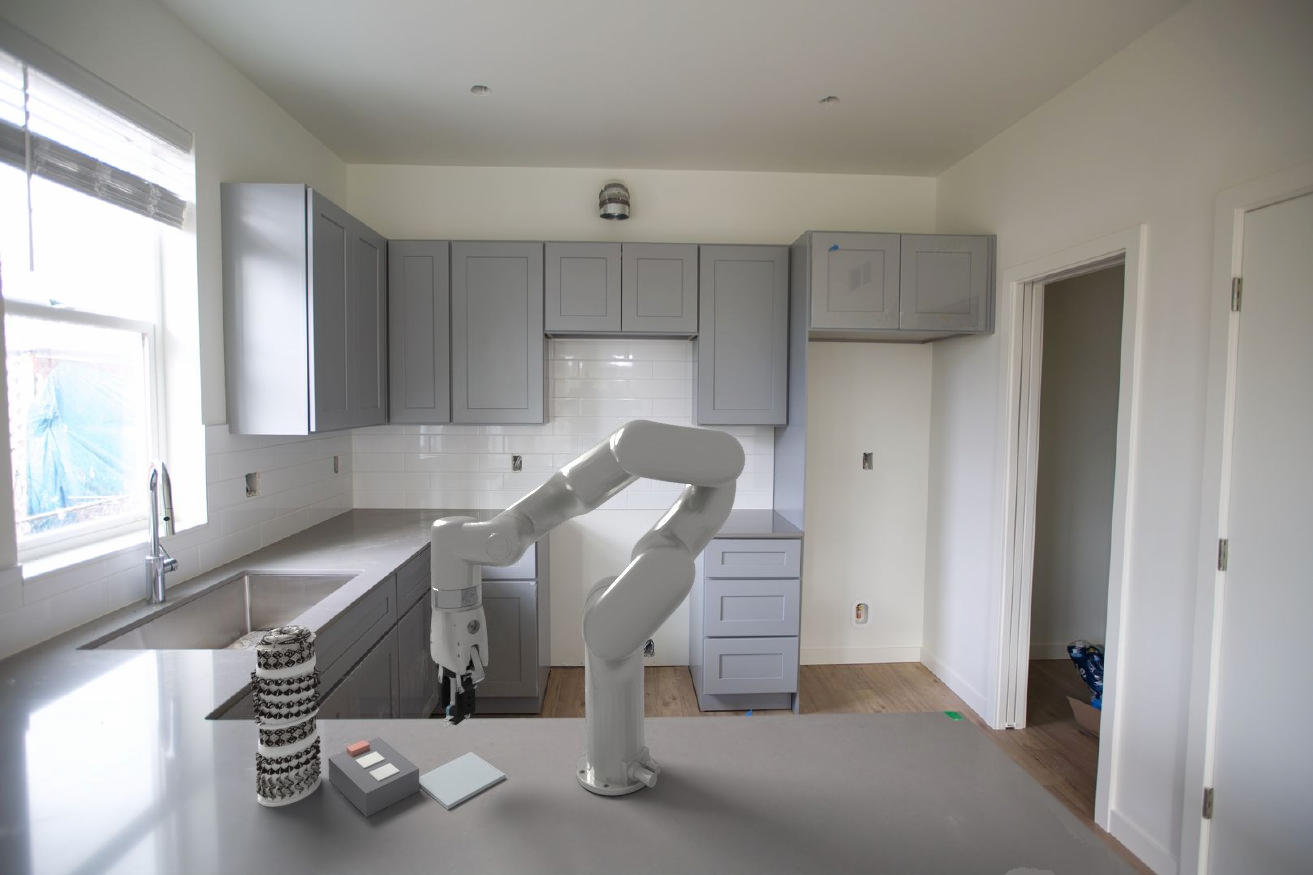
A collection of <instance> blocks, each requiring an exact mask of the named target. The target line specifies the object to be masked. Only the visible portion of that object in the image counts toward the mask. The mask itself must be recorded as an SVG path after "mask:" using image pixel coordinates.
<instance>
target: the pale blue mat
mask: <svg viewBox="0 0 1313 875" xmlns="http://www.w3.org/2000/svg"><path fill="white" fill-rule="evenodd" d="M504 779H506V773H504V772H502V771H501V770H500V769H498V768H496V767H495V766H493V765H492V764H491V763H489V762H487V761H486V760H484V759H483V758H481V757H480V756H479V755H477V754H475V753H474V752H472V751H469V752H468V753H465V754H463V755H462V756H460V757H457V758H455V759H453V760H451V761H449V762H447V763H445V764H442V765H441V766H438V767H437V768H434V769H432V770H431V771H428V772H426V773H423V774H422V775H419V788H421V789H422V790H423V791H424V792H425V793H427V794H428V795H429V796H430V797H432V798H433V799H434V800H435V801H436V802H438V803H439V804H440V805H441V806H443V807H444V809H446V810H450V809H451V808H453V807H456V806H457V805H460V804H461V803H462V802H464V801H467V800H468V799H470V798H472V797H473V796H475V795H477V794H480V792H482V791H485V790H486V789H488V788H490V787H491V786H493V785H495V784H497V783H499V782H501V781H503V780H504Z"/></svg>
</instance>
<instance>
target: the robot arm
mask: <svg viewBox="0 0 1313 875" xmlns="http://www.w3.org/2000/svg"><path fill="white" fill-rule="evenodd" d="M745 465H746V455H745V450H744V447H743V446H742V444H741V442H740V441H739V440H738V439H737V438H736V437H735V436H734V435H732V434H730V433H728V432H725V431H721V430H714V429H706V428H700V427H699V428H698V427H691V426H682V425H674V424H669V423H664V422H658V421H653V420H648V419H634V420H631V421H629V422H626V423H624V424H623V425H622V426H621V427H619V428H617V429H616V430H615V431H612V433H610V434H609V435H607V436H605V437H604V438H603V439H601V440H600V441H599V442H597V443H596V444H593V446H592V447H590V448H588V449H587V450H586V451H584V452H583V453H581V454H580V455H578V456H577V457H575V458H574V459H572V460H571V461H570V462H569V461H568V463H566V464H565V465H563V466H562V467H561V468H559V469H558V470H557V471H556V472H555V473H554V474H553V475H552V476H551V477H550V478H549V479H547V480H546V481H545V482H544V483H542V484H541V485H540V486H538V487H536V488H535V489H534V490H532V491H531V492H530V493H528V494H527V495H525V496H524V497H522V498H521V499H519V500H517V501H516V502H515V503H514V504H512V505H511V506H509V507H508V508H506V509H505V510H503V511H502V512H500V513H499V514H498V515H496V516H495V517H493V518H492V519H489V520H484V521H479V519H478V518H476V517H473V516H468V515H467V516H465V515H456V516H455V515H454V516H446V517H442V518H438V519H436V520H434V521H433V523H432V524H431V528H430V567H431V568H430V570H431V571H430V576H431V578H430V579H431V580H430V581H431V584H430V585H431V586H430V589H431V590H430V591H431V592H430V593H431V599H430V601H431V622H430V640H429V641H430V655H431V659H432V661H433V662H434V663H435V664H436V666H435V667H436V668H437V671H438V676H437V678H438V679H437V680H438V682H439V707H440V708H441V709H445V710H446V708H447V707H448V706H449V705H450V696H451V680H450V678H449V677H447V676H445V675H444V670H443V668H442V666H444V667H445V668H447V669H449V670H451V671H453V672H455V673H456V679H457V689H458V692H455V717H457V718H461V717H463V716H465V715H468V714H470V713H473V712H474V711H475V712H476V688H477V687H478V684H479V682H481V681H483V680H484V679H485V677H486V674H485V672H484V669H483V668H486V667H488V664H489V645H488V632H487V623H486V616H485V615H486V614H485V610H484V606H483V604H482V602H483V600H482V593H483V592H482V567H489V568H499V569H503V568H509V567H511V566H513V565H515V564H516V563H518V562H519V561H520V560H521V559H522V557H524V555H525V553H526V552H527V550H528V548H529V547H531V546H532V545H534V544H535V543H536V542H538V541H539V540H540V539H541V538H543V537H544V536H546V535H548V534H549V533H551V532H552V531H553V530H555V529H556V528H557V527H559V526H561V525H562V524H564V523H565V522H567V521H569V520H571V519H574V518H576V517H579V516H583V515H587V514H589V513H590V512H593V511H595V510H596V509H598V508H599V507H600V506H602V505H603V504H605V503H606V502H608V501H609V500H610V499H611V498H613V497H615V496H616V495H617V494H619V493H620V492H622V491H623V490H624V489H626V488H627V487H628V486H630V485H632V484H633V483H635V482H636V481H638V480H639V479H640V478H643V479H648V480H655V481H661V482H667V483H672V484H673V483H674V484H675V483H676V484H683V485H684V488H683V490H682V492H680V495H678V497H677V499H676V500H675V501H674V502H673V503H672V505H671V506H669V508H668V510H667V511H666V512H664V514H663V515H662V516H661V517H660V518H659V519H658V520H657V521H656V522H655V524H653V525H652V527H650V529H649V530H648V531H647V532H646V533H645V534H643V536H641V537H640V538H639V539H638V540H637V541H636V543H635V545H634V546H633V548H632V551H631V555H630V563H629V565H628V566H626V568H625V569H624V570H623V571H622V572H621V573H620V575H609V576H606V577H603V578H601V579H599V580H597V581H596V582H595V583H594V584H593V585H592V586H591V587H590V589H589V590H588V593H587V594H586V597H585V599H584V605H583V608H582V609H583V611H582V618H581V620H582V621H581V635H582V636H581V637H582V639H583V642H584V673H585V674H584V682H585V683H584V687H585V688H584V690H585V693H584V695H585V697H584V698H585V703H584V704H585V754H584V755H583V756H581V757H580V759H579V760H578V762H577V765H576V778H577V781H578V783H579V784H580V785H581V786H582V787H583V788H585V789H586V790H587V791H590V792H592V793H594V794H597V795H602V796H603V795H604V796H621V795H627V794H628V795H629V794H631V793H634V792H636V791H639V790H640V789H642V788H644V787H645V786H647V787H648V788H654V787H655V786H656V784H657V781H658V775H659V774H660V772H661V769H662V766H661V765H660V764H658V763H655V761H654V759H653V757H652V756H651V754H650V747H648V746H646V745H645V741H646V740H645V739H646V738H645V650H644V649H645V644H646V643H647V642H648V641H649V640H650V639H651V637H652V636H653V635H654V634H655V633H657V631H659V629H660V628H661V626H663V625H664V624H665V622H667V620H668V619H669V618H670V617H671V616H672V615H673V614H674V613H675V611H677V609H678V608H679V607H680V606H681V605H682V603H683V602H684V601H685V600H686V598H687V597H688V595H689V593H691V592H690V591H691V590H692V588H693V586H694V583H695V579H696V574H697V573H696V571H697V570H696V564H695V560H696V559H697V558H698V556H699V555H700V554H701V553H702V552H703V551H704V549H705V548H707V546H708V545H709V544H710V542H711V541H712V540H713V539H714V537H715V536H716V535H717V534H718V533H719V532H720V530H721V529H722V528H723V526H724V524H725V523H727V520H728V518H729V516H730V515H731V512H732V510H733V507H734V504H735V498H736V494H737V480H738V479H739V477H740V476H741V474H743V470H744V468H745ZM468 665H470V668H469V669H466V666H468ZM469 673H470V675H469V677H468V678H466V680H465V681H464V678H463V676H464V675H467V674H469ZM470 715H471V714H470Z"/></svg>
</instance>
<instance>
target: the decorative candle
mask: <svg viewBox="0 0 1313 875" xmlns="http://www.w3.org/2000/svg"><path fill="white" fill-rule="evenodd" d="M316 638H317V634H316V632H312V631H311V630H310V629H309V628H308V627H306V626H303V625H297V624H296V625H287V626H286V625H285V626H281V627H277V628H275V629H272V630H270V631H267V633H265V634H264V635H263V636H262V638H261V640H259V641H258V642H257V643H256V644H254V649H255V650H256V656H257V658H256V662H257V663H256V664H255V667H256V668H254V670H253V672H252V671H251V672H250V680H251V681H250V684H251V687H250V689H251V690H253V691H254V693H252V702H253V704H252V707H253V709H252V712H253V713H255V714H256V715H255V716H254V719H253V720H254V724H255V726H256V727H257V728H258V730H259V732H258V733H259V734H258V735H259V738H258V739H257V741H258V744H257V745H258V746H257V747H258V748H257V751H256V752H255V756H256V757H255V761H257V762H255V763H256V764H255V766H256V767H255V770H256V771H257V773H256V775H255V778H256V779H255V782H256V787H255V788H256V790H255V791H256V794H257V803H258V804H260V805H261V806H263V807H270V808H275V807H283V806H288V805H291V804H293V803H296V802H299V801H301V800H304V799H305V798H306V797H308V796H310V795H311V794H312V793H314V792H315V791H316V790H317V789H318V788H319V786H320V784H322V783H321V780H322V779H321V774H322V770H321V769H322V767H321V766H320V765H321V764H322V761H321V756H319V755H320V754H321V751H322V750H321V749H320V748H321V746H320V743H321V739H320V738H321V737H320V735H318V734H319V732H318V724H317V713H318V712H319V710H320V707H321V703H320V700H318V699H319V697H320V696H321V692H320V691H319V690H316V688H317V687H318V686H319V685H320V684H322V682H321V679H320V678H319V676H320V674H322V673H321V672H322V671H321V670H320V668H319V667H316V664H317V663H316V662H317V660H316V658H317V657H316V653H315V643H314V642H315V641H314V640H315V639H316Z"/></svg>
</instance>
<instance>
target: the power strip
mask: <svg viewBox="0 0 1313 875" xmlns="http://www.w3.org/2000/svg"><path fill="white" fill-rule="evenodd" d="M327 762H328V780H329V781H330V782H331V783H332V785H334V786H335V787H336V788H337V789H338V790H339V791H340V793H342V794H343V795H344V796H345V797H346V798H347V799H348V800H349V801H350V802H351V803H352V804H353V806H354V807H355V808H356V809H358V811H360V813H362V814H363V816H364V817H365V818H368V817H370V816H373V815H374V814H376V813H378V812H380V811H382V810H384V809H385V808H388V807H390V806H392V805H393V804H396V803H398V802H400V801H402V800H404V799H406V798H408V797H410V796H412V795H414V794H416V793H417V792H419V791H420V787H419V777H420V768H419V767H418V766H417V765H416V764H414V763H413V762H412V761H410V760H409V759H408V758H407V757H405V755H403V754H401V753H400V752H399V751H398V750H396V749H395V748H394V747H392V746H391V745H390V744H389V743H387V742H386V741H385V740H383V739H382V738H381V737H380V736H377V737H376V738H372V739H371V740H368V741H366V740H365V739H363V740H361V741H359V742H355V743H354V744H351V745H349V746H347V747H346V750H344V751H341V752H339V753H336V754H334V755H332V756H329V757H328V761H327Z"/></svg>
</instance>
